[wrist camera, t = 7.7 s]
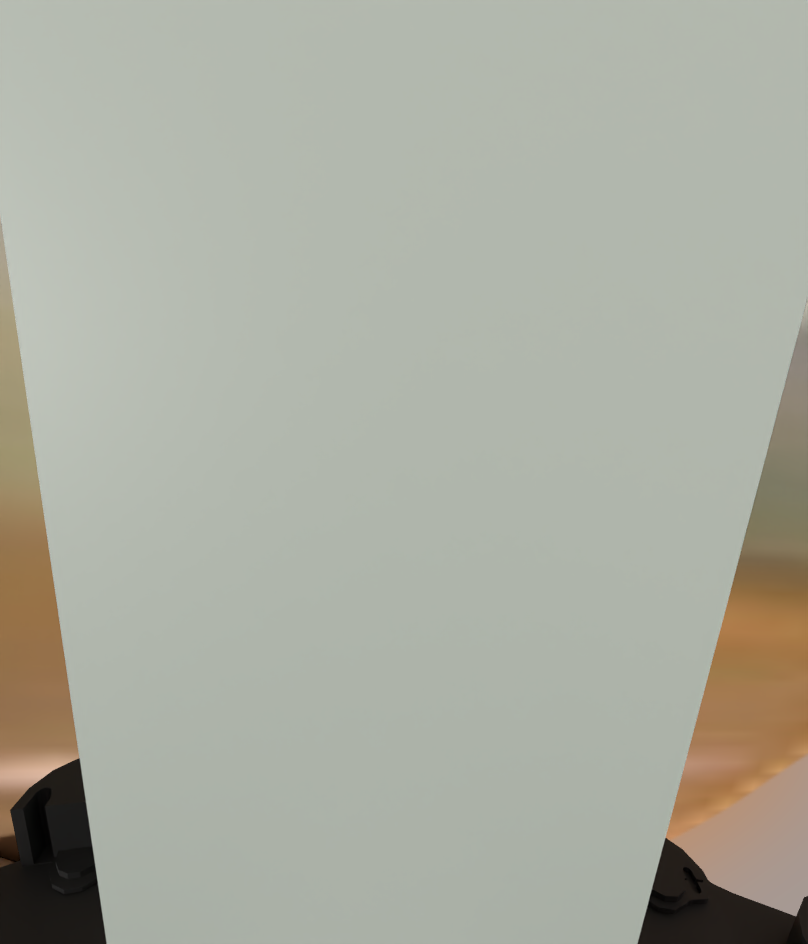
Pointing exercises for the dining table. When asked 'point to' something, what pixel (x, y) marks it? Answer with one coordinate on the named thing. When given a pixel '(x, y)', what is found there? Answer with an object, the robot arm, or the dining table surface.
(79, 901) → the robot arm
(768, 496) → the dining table surface
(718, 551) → the sheet
